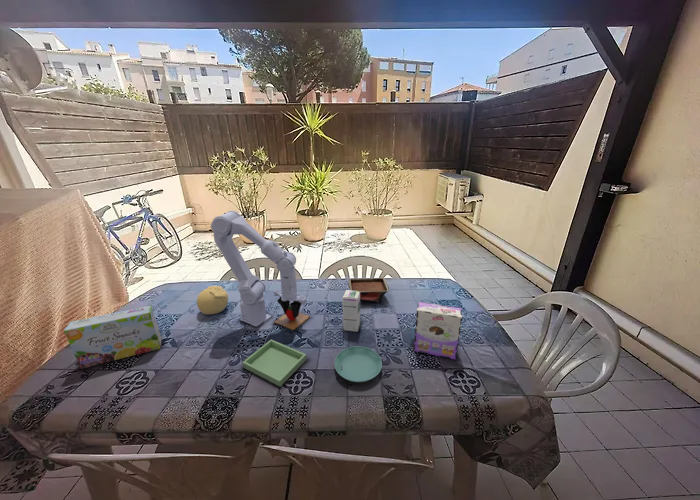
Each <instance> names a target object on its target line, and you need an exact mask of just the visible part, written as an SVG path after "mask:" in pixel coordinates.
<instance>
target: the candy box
mask: <svg viewBox="0 0 700 500" xmlns="http://www.w3.org/2000/svg"><path fill="white" fill-rule="evenodd" d="M462 321H463V313H462V308H461V307H460V308H459V307H455V306H448V305H443V304H435V303H428V302H423V301H418V303H417V308H416V315H415V326H414V339H413V340H414V341H413V348H412V351H413V352H416V353H422V354H427V355H432V356H436V357H441V358H446V359H449V360H450V359H451V360H457V356H458V349H459V340H460V334H461V330H462V329H461V328H462Z"/></svg>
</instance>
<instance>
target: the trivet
mask: <svg viewBox="0 0 700 500" xmlns="http://www.w3.org/2000/svg"><path fill="white" fill-rule="evenodd" d="M309 319H311V318H310V315H309V314H308V315H307V314H305V313H302V312H299V315H298V316H297V317H296V318H295V319H294V320H289V319H288V317H287V316H286V315H285V313H284V314H282V315H281V316H280V317H278V318H277V319H276V320H274V321H273V323H274V324H277V325H279V326H282V327H283V328H286V329H289V330H292V331H295V330H296V329H297V328H298V327H300V326H302V325H303V324H304V323H305V322H307V321H308V320H309Z"/></svg>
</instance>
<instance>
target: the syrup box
mask: <svg viewBox="0 0 700 500" xmlns="http://www.w3.org/2000/svg"><path fill="white" fill-rule="evenodd" d="M341 300H342V301H341V302H342V327H343V328H342V329H343V331H348V332H356V333H357V332H359V329H360V326H361V301H360V291H355V290H350V289H345V292H344V293H343V295H342V299H341Z"/></svg>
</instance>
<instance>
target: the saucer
mask: <svg viewBox="0 0 700 500" xmlns="http://www.w3.org/2000/svg"><path fill="white" fill-rule="evenodd" d="M333 363H334V364H333V365H334V369H335V371H336V372H337V374H338V375H339V376H340V377H341V378H342V379H344V380H346V381H348V382H351V383H355V384H357V383H358V384H359V383H360V384H361V383H365V382H370V381H371V380H373V379H375V378H376V377H377V376H378V375H379V374H380V372H381V371H382V368H383V362H382V358H381V356H380V355H379V353H377V352H376V351H375V350H373V349H372V348H369V347H366V346H361V345H355V346H353V345H352V346H350V347H346V348H344V349H342V350H341V351H339V353H337V355H336V357H335V359H334V362H333Z"/></svg>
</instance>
